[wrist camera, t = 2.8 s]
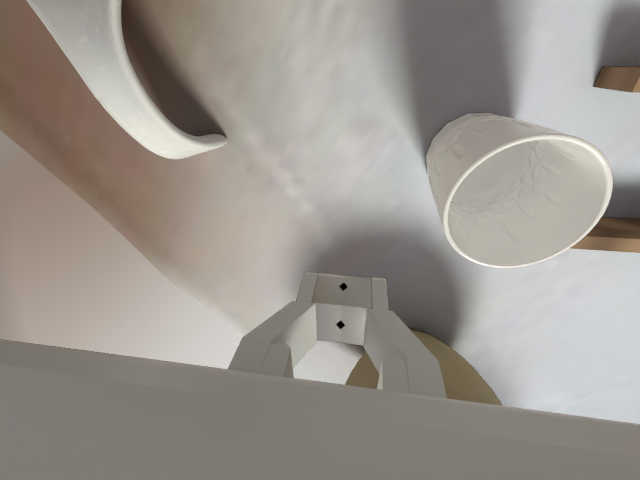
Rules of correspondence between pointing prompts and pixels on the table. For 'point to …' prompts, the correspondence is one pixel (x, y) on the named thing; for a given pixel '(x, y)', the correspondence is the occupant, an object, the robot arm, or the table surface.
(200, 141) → the spoon rest
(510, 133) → the white cup
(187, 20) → the table surface
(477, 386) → the flower pot
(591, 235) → the brown wooden frame
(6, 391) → the robot arm
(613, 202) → the table surface
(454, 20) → the table surface
